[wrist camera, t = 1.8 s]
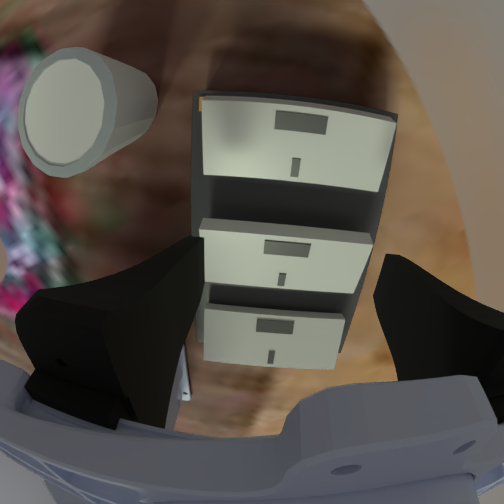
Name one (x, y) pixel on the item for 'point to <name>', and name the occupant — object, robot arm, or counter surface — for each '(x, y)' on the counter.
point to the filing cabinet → (280, 218)
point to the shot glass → (82, 110)
